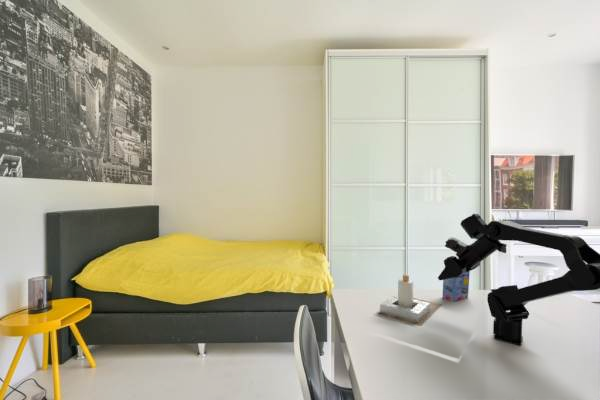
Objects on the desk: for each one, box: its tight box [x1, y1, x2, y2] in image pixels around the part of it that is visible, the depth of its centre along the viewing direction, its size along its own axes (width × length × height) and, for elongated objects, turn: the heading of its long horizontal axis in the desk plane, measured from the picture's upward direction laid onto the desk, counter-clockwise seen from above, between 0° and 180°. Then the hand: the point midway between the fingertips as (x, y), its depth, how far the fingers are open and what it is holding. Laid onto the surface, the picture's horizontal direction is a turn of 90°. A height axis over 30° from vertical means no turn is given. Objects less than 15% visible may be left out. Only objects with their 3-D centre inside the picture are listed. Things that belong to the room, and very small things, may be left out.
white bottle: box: [397, 274, 414, 309], centre depth 108 cm, size 5×5×13 cm
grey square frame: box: [379, 294, 430, 323], centre depth 108 cm, size 13×13×3 cm
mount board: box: [376, 297, 443, 327], centre depth 111 cm, size 15×25×1 cm, turn 141°
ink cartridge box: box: [441, 271, 471, 302], centre depth 124 cm, size 10×6×14 cm, turn 120°
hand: (444, 276), depth 107 cm, fingers open, 9 cm apart
